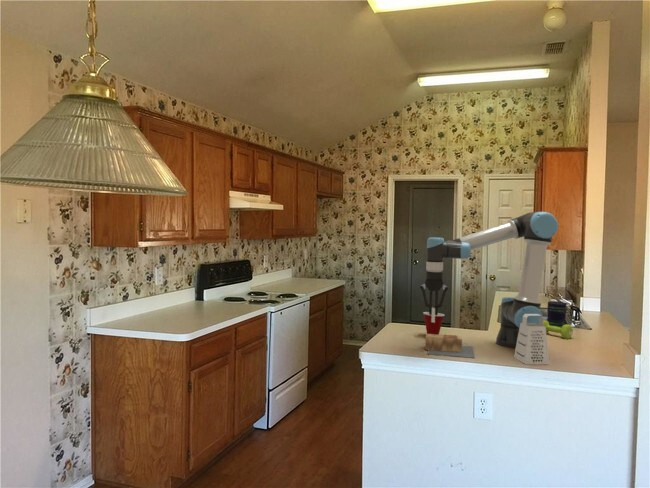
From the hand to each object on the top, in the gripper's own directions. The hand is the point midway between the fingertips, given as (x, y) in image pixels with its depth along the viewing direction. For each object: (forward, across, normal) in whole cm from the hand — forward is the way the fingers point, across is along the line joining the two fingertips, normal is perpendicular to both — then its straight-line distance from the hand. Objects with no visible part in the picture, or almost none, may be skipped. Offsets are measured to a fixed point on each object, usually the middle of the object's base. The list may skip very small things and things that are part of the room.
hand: (433, 321), depth 227 cm
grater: (+13, -42, +6) cm, 44 cm away
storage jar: (+13, -67, -67) cm, 96 cm away
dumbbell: (+13, -62, -49) cm, 80 cm away
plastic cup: (+13, 0, -27) cm, 30 cm away
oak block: (+9, +3, 0) cm, 10 cm away
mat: (+13, -8, 0) cm, 15 cm away
